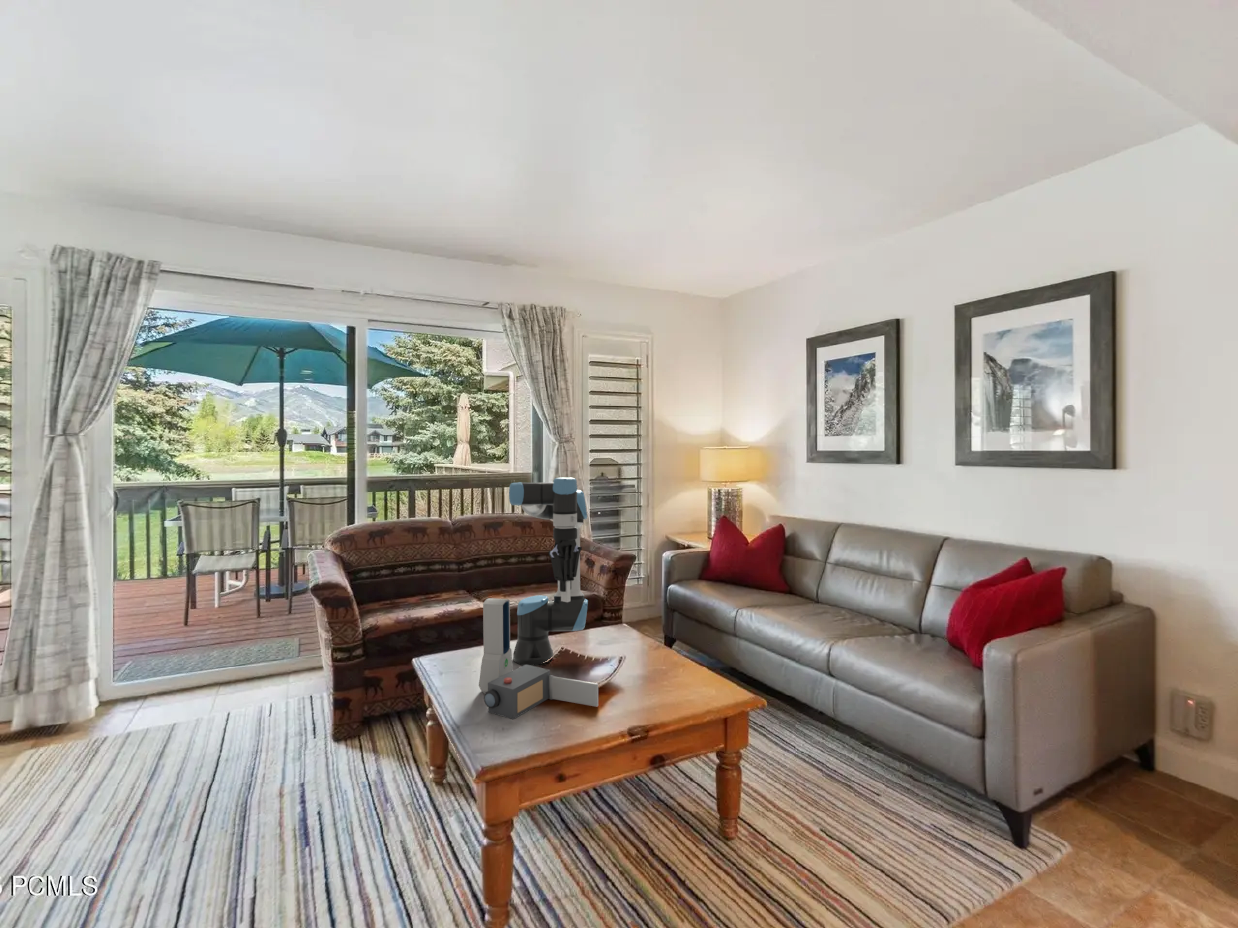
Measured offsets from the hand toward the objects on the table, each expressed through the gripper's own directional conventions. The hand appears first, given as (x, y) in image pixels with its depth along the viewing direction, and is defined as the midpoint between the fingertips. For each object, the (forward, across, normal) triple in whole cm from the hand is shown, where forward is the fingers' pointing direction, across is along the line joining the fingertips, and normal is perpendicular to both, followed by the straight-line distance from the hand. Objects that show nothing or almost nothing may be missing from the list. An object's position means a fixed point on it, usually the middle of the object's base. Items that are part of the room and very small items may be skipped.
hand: (565, 601), depth 192 cm
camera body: (+32, -10, +10) cm, 35 cm away
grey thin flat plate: (+32, +1, -2) cm, 32 cm away
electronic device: (+33, -7, +26) cm, 42 cm away
